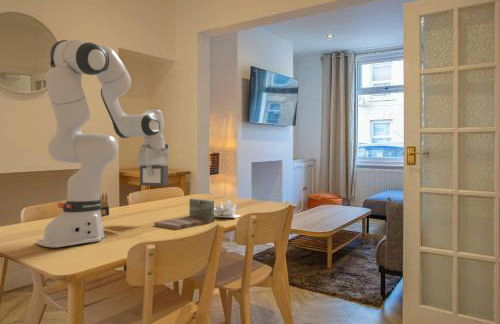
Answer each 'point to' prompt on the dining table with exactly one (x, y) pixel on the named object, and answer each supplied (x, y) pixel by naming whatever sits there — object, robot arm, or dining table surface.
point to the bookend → (192, 216)
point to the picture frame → (154, 176)
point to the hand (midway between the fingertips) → (153, 175)
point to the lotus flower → (226, 210)
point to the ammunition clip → (104, 205)
